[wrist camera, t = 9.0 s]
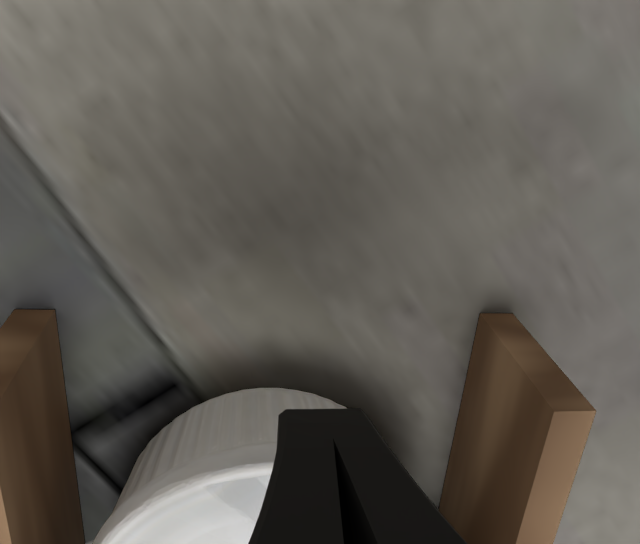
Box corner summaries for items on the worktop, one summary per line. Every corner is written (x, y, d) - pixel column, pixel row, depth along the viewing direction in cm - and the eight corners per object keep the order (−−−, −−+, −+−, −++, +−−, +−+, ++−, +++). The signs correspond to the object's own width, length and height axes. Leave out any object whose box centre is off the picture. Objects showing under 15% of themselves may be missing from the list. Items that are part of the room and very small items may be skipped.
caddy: (512, 313, 20) (596, 410, 16) (446, 591, 26) (492, 725, 21) (14, 309, 18) (-70, 421, 13) (63, 614, 24) (17, 769, 19)
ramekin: (450, 390, 22) (508, 500, 17) (352, 594, 26) (376, 728, 21) (145, 326, 19) (113, 433, 14) (89, 563, 23) (49, 708, 19)
